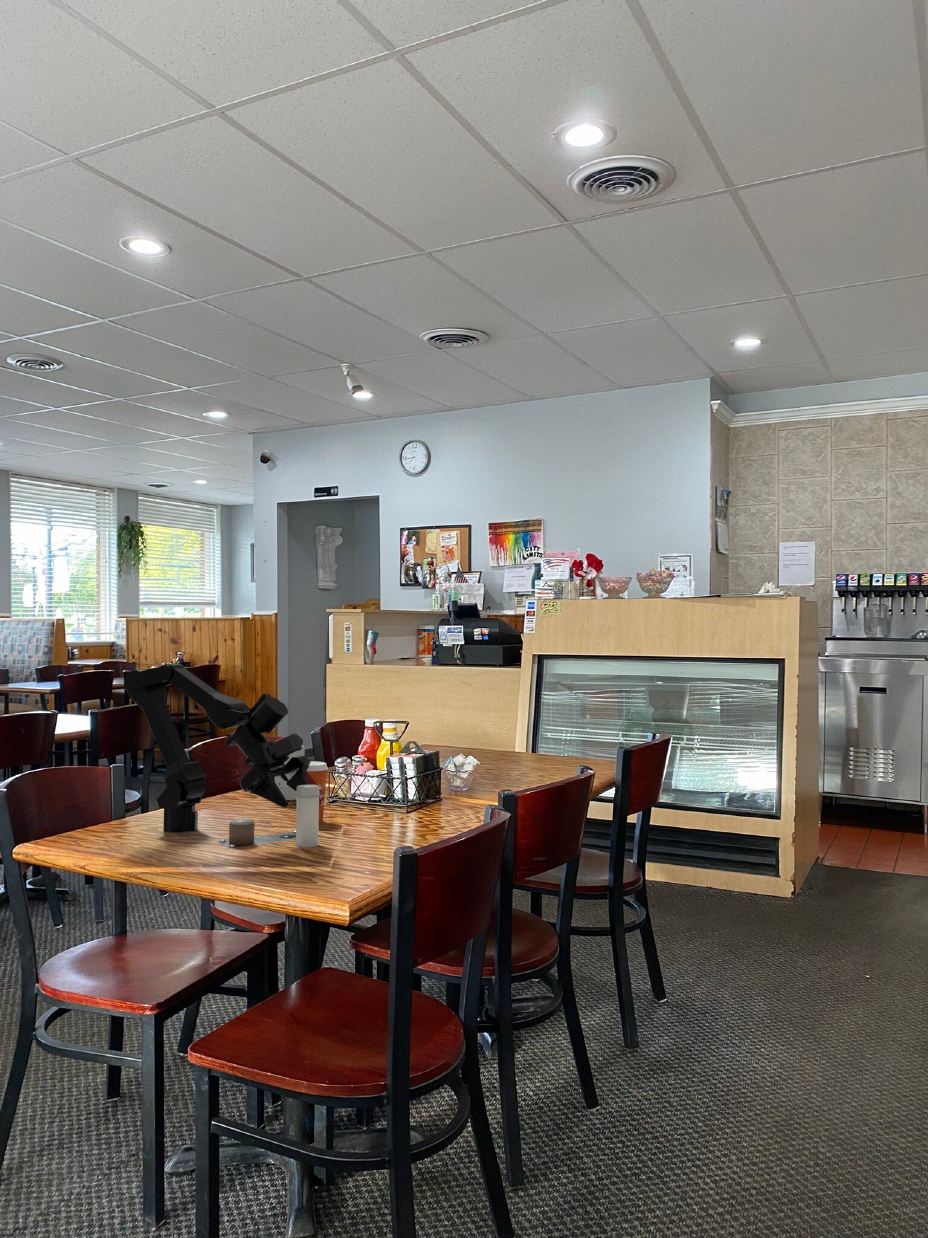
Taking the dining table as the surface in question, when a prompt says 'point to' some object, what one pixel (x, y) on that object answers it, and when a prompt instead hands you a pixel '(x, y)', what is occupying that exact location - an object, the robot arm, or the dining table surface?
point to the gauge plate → (263, 839)
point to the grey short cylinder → (241, 831)
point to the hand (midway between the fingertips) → (299, 802)
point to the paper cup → (318, 782)
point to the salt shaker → (307, 816)
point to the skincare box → (281, 784)
